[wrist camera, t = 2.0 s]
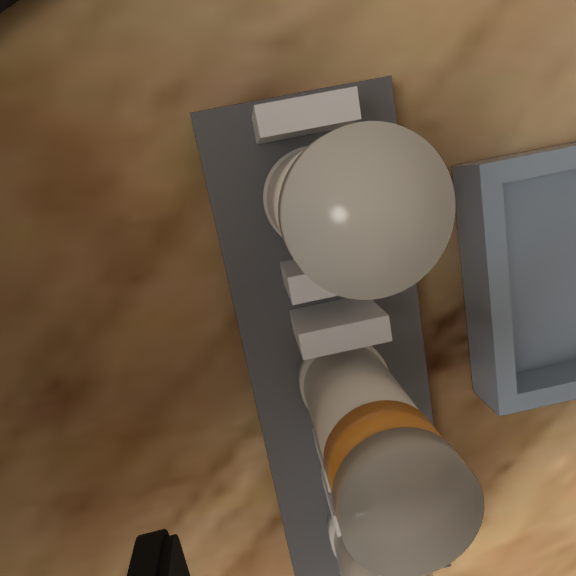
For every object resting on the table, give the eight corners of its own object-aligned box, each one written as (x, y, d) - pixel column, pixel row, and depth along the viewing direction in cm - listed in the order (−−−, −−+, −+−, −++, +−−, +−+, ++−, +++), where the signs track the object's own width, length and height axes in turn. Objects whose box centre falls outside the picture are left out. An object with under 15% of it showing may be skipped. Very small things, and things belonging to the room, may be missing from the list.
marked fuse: (375, 324, 18) (478, 435, 10) (387, 402, 19) (489, 559, 11) (290, 343, 18) (328, 469, 10) (305, 420, 19) (352, 593, 11)
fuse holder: (378, 84, 17) (422, 54, 13) (437, 541, 23) (481, 623, 18) (194, 118, 17) (179, 99, 13) (296, 575, 22) (310, 666, 18)
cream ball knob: (348, 139, 16) (446, 105, 9) (362, 234, 17) (463, 281, 9) (253, 157, 16) (265, 139, 8) (272, 252, 17) (299, 315, 9)
